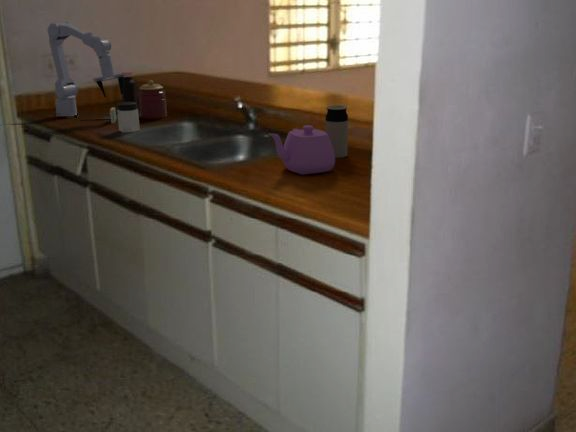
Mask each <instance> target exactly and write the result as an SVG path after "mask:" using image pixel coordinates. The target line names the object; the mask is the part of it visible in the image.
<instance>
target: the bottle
mask: <svg viewBox="0 0 576 432" xmlns="http://www.w3.org/2000/svg"><path fill="white" fill-rule="evenodd" d="M121 73H125V76H126V77H123V78H124V80H123V85H122V93H123V94H121V96H122V97H121V99H122V102H136V103H137V104H138V102H137V101H138V100H137V90H136V82H135V81H134V80H133V71H122V72H121Z"/></svg>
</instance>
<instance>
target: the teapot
mask: <svg viewBox="0 0 576 432" xmlns="http://www.w3.org/2000/svg"><path fill="white" fill-rule="evenodd" d="M267 135H269V136H270V137H272V139H273V140H274V143H275V149H276V154H277V156H278V157H279V158H280V159H281V161H282V163H283V164H284V167H285V168H286V169H287V170H288V171H289V172H290V171H291V172H292V173H296V174H299V175H301V176H307V175H309V174H311V175H312V174H318V173H319V174H320V173H327V172H331V171H332V170H333V168H334V166H335V164H336V158H335V154H334V149H333V146H332V143H331V141H330V138H329V136H328V134H327V133H326V131H324V130H321V129H318V128H317V129H316V128H314V125H309V124H308V125H303V126H302V129H298V128H293V129H292V130H290V131H289V132H288V134H287V136H286V139H285V142H284V144H283V142H282V139H281V136H280V135H279V134H277V133H268V134H267Z"/></svg>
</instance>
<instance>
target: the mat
mask: <svg viewBox="0 0 576 432" xmlns="http://www.w3.org/2000/svg"><path fill="white" fill-rule="evenodd" d="M101 119H111V115H110V116H105V117H104V118H101ZM116 120H118V114H116Z"/></svg>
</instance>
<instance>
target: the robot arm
mask: <svg viewBox="0 0 576 432" xmlns="http://www.w3.org/2000/svg"><path fill="white" fill-rule="evenodd" d="M46 30H47V34H48V38H49V39H48V40H49V47H50V51H51V55H52V60H53V63H54V67H55V71H56V76H57V80H56V81H55V83H54V86H55V87H54V88H55V89H54V93H55V96H56V97H57V98H56V99H55V101H54V105H55V112H56V113H55V114H56V117H57V116H74V115H77V113H78V110H77V100H76V98H77V95H78V93H79V89H78V85H77V84H76V81H75V80H74V79H73V78H72V77H70V73H69V68H68V63H67V59H66V55H65V50H64V47H63V43H64V42H65V41H66V39H68V38H69V37H71V36H72V37H74V38H77V39H79V40H81V42H82V43H83V45H86V46H88V47H90V48H92V49H93V51H94V52H95V54H96V56H97V58H98V62H99V67H100V72H101V76H100V77H93V78H92V80H93V83H96V85H98V87H99V89H100V91H101V92H102V94H103V97H104V98H107V96H106V92H105V90H104V89H105V88H104V85H103V82H104V81H110V80H117V81H118V86H119V92H120V95H122V94H123V93H122V85H123V80H124V78H123V77H126V76H125V73H122V72H121V73H117V74H116V73H115V69H114V68H115V67H114V65H113V59H112V55H111V49H112V43H111V41H110V40H109V39H107V38H101V36H97V35H95V34H94V33H93V32H92V31H88V32H86V33H85V32H84V31H82V30H80V29H79V28H78V27H76V26H74V25H73V24H72V23H70V22H66V21H65V22H52V23H50V24H49V26H48V27H47V29H46Z"/></svg>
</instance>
